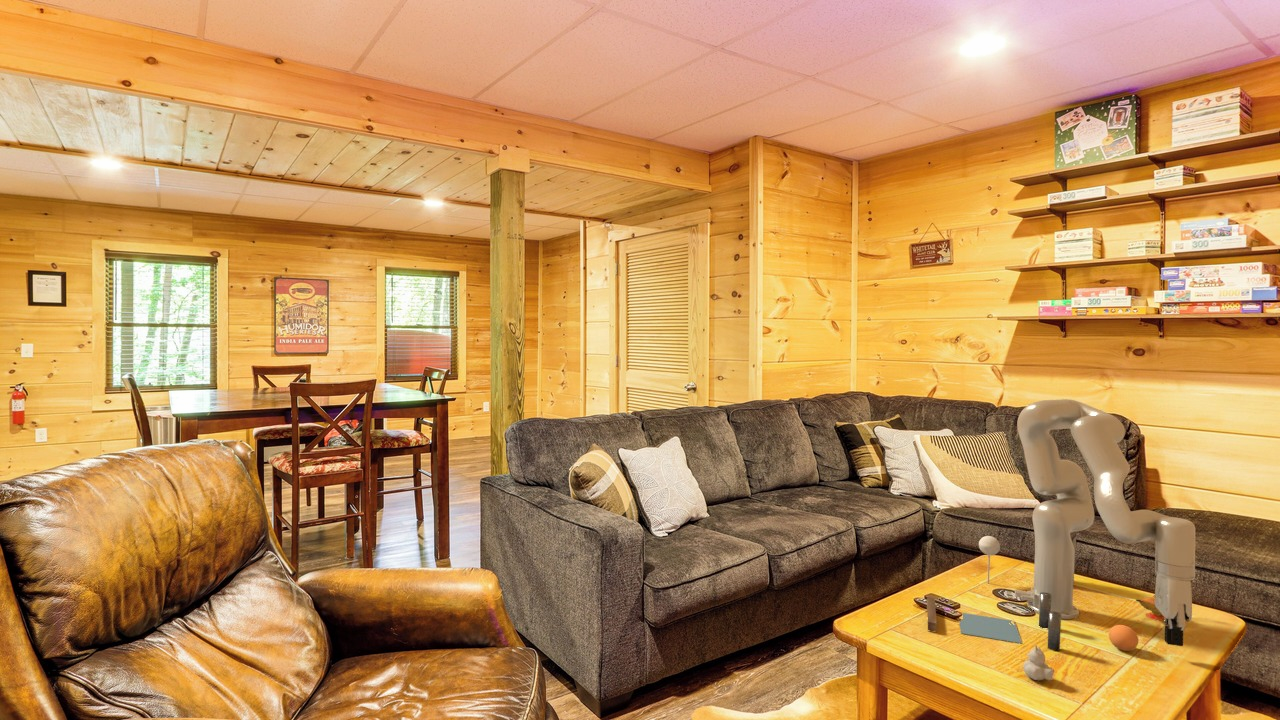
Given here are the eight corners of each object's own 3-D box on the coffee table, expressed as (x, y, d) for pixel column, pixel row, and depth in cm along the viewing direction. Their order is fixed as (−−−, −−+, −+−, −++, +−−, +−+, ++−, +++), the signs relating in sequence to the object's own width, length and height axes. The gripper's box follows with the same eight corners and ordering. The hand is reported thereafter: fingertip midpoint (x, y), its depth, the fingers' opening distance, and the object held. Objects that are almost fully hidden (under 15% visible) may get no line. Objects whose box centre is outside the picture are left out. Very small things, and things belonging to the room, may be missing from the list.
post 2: (1048, 649, 165) (1049, 614, 164) (1046, 645, 167) (1047, 610, 167) (1060, 651, 164) (1062, 616, 163) (1058, 647, 166) (1060, 612, 166)
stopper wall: (927, 631, 174) (928, 622, 174) (927, 605, 191) (927, 596, 191) (936, 632, 174) (936, 623, 174) (934, 606, 190) (934, 597, 190)
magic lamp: (1122, 620, 182) (1124, 581, 182) (1155, 607, 191) (1157, 570, 190) (1150, 630, 176) (1152, 589, 176) (1184, 616, 185) (1186, 578, 184)
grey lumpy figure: (1030, 670, 155) (1032, 636, 155) (1060, 683, 149) (1061, 649, 149) (1017, 675, 152) (1018, 642, 152) (1046, 689, 147) (1047, 654, 146)
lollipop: (990, 588, 204) (992, 540, 203) (973, 581, 209) (974, 535, 208) (1003, 584, 207) (1004, 537, 206) (985, 578, 212) (987, 532, 211)
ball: (1111, 652, 164) (1112, 628, 163) (1105, 641, 169) (1106, 619, 169) (1141, 657, 161) (1142, 633, 161) (1133, 646, 167) (1134, 623, 167)
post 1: (1039, 628, 177) (1040, 595, 176) (1038, 624, 179) (1039, 591, 179) (1050, 629, 176) (1052, 596, 175) (1049, 625, 178) (1050, 593, 178)
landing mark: (960, 633, 173) (960, 632, 173) (957, 612, 186) (958, 611, 186) (1021, 643, 168) (1021, 643, 168) (1014, 621, 181) (1014, 620, 181)
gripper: (1146, 558, 169) (1145, 629, 169) (1166, 577, 155) (1165, 654, 155) (1182, 561, 166) (1181, 634, 166) (1206, 581, 152) (1205, 660, 152)
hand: (1173, 643), depth 161 cm, fingers closed
